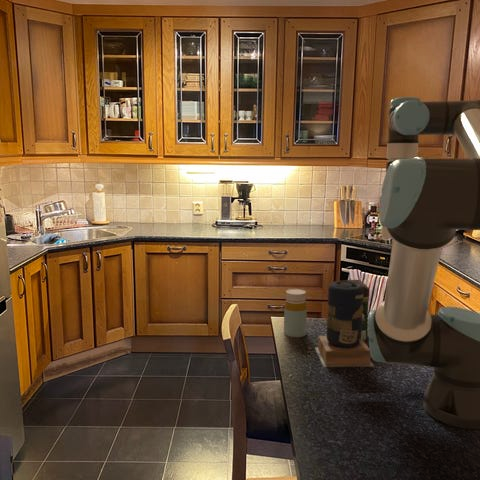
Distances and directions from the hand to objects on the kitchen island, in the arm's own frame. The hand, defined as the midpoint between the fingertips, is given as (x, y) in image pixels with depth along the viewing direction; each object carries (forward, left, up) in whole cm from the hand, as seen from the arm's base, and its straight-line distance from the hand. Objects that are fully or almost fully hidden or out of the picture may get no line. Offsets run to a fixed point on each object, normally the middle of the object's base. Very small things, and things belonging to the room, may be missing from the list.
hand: (397, 242), depth 127 cm
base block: (+3, +12, -33) cm, 35 cm away
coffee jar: (+19, +5, -35) cm, 40 cm away
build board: (+2, +13, -34) cm, 37 cm away
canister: (+3, +12, -29) cm, 32 cm away
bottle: (+21, +23, -35) cm, 47 cm away
